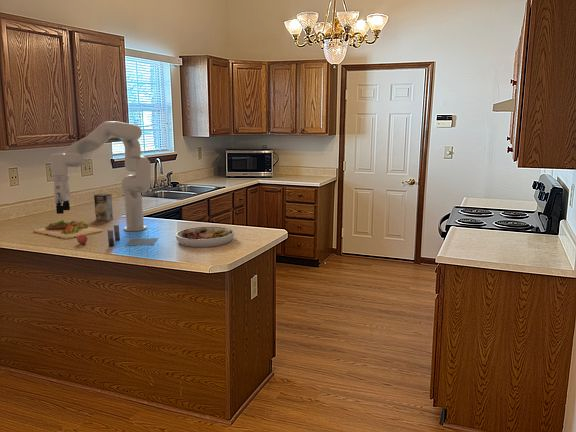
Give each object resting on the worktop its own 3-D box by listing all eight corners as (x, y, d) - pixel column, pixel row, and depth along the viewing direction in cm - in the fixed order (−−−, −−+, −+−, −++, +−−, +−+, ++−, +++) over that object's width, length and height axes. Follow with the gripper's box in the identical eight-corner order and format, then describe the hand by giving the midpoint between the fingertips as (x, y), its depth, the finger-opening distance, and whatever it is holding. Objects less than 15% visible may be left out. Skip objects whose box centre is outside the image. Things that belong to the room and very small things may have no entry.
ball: (79, 242, 258) (78, 233, 257) (89, 242, 258) (88, 233, 257) (76, 245, 253) (75, 235, 252) (86, 244, 253) (85, 235, 252)
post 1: (109, 245, 252) (108, 229, 251) (114, 245, 252) (113, 229, 251) (108, 246, 250) (106, 231, 248) (113, 246, 250) (112, 230, 248)
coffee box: (95, 220, 316) (93, 195, 312) (101, 218, 322) (99, 193, 319) (107, 220, 313) (105, 195, 310) (113, 218, 319) (111, 194, 316)
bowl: (196, 233, 278) (195, 219, 277) (244, 237, 267) (243, 223, 266) (164, 246, 251) (163, 231, 249) (216, 251, 240) (215, 235, 238)
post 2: (115, 239, 264) (114, 224, 262) (120, 239, 264) (119, 224, 263) (114, 240, 261) (113, 225, 260) (119, 240, 262) (118, 225, 260)
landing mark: (131, 239, 264) (131, 238, 264) (157, 238, 266) (157, 238, 265) (125, 245, 251) (125, 245, 251) (153, 245, 252) (153, 244, 252)
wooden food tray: (104, 232, 284) (103, 219, 283) (67, 241, 265) (65, 227, 264) (69, 225, 303) (68, 213, 302) (31, 233, 285) (30, 220, 283)
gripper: (62, 180, 240) (65, 214, 243) (73, 176, 257) (76, 208, 260) (46, 180, 239) (49, 215, 242) (58, 176, 256) (61, 209, 259)
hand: (63, 211), depth 251 cm, fingers open, 9 cm apart
